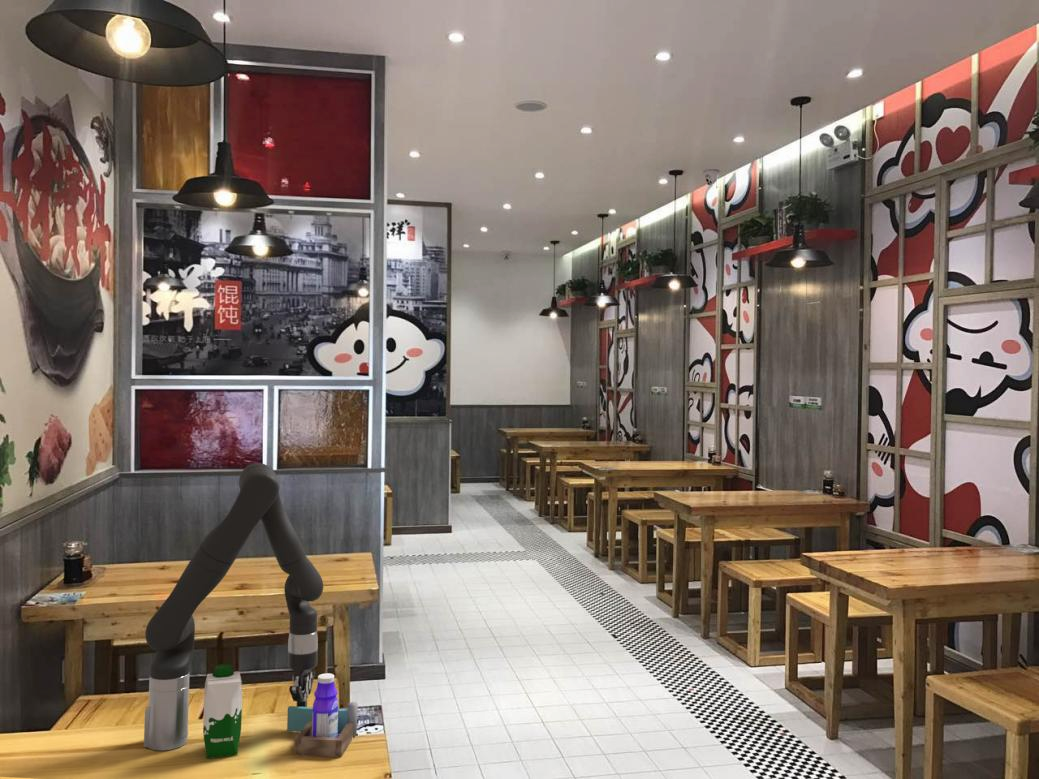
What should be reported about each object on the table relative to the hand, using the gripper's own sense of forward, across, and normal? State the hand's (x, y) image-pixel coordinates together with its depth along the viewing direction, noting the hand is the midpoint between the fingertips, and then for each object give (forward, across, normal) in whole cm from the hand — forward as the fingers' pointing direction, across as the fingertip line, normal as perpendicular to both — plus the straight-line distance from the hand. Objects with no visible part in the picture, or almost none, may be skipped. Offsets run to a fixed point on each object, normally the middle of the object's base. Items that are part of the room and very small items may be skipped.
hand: (301, 714), depth 216 cm
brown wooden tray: (+4, -10, -10) cm, 14 cm away
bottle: (+4, -10, -10) cm, 14 cm away
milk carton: (+4, -17, +14) cm, 22 cm away
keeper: (+3, -3, -7) cm, 8 cm away
